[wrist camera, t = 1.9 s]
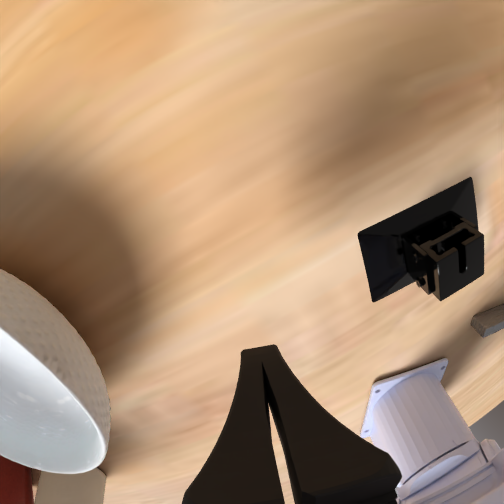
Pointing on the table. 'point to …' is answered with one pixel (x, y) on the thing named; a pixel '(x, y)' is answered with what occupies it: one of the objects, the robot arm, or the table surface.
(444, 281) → the build plate
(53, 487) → the travel mug
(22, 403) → the cereal bowl
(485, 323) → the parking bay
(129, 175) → the table surface
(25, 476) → the plant pot
